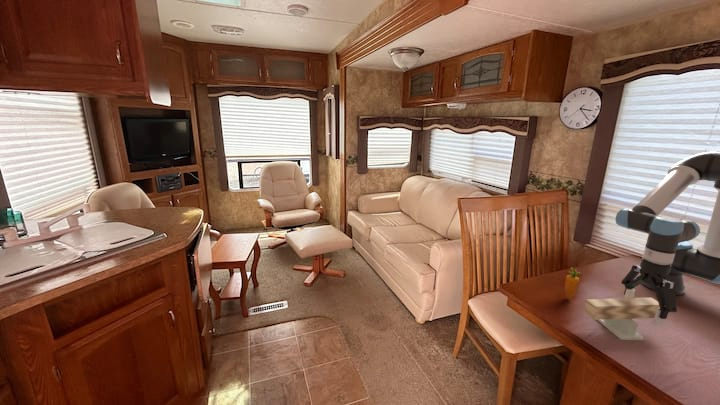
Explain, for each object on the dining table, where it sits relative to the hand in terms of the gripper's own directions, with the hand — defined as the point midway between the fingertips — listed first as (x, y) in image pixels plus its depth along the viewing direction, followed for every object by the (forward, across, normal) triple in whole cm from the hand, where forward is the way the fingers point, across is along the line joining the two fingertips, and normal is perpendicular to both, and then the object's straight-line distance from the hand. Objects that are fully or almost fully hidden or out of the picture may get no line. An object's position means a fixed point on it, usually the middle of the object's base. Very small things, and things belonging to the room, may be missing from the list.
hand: (641, 313), depth 108 cm
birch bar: (0, 0, -7) cm, 7 cm away
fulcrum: (+7, 0, -7) cm, 10 cm away
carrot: (+7, -19, -13) cm, 24 cm away
